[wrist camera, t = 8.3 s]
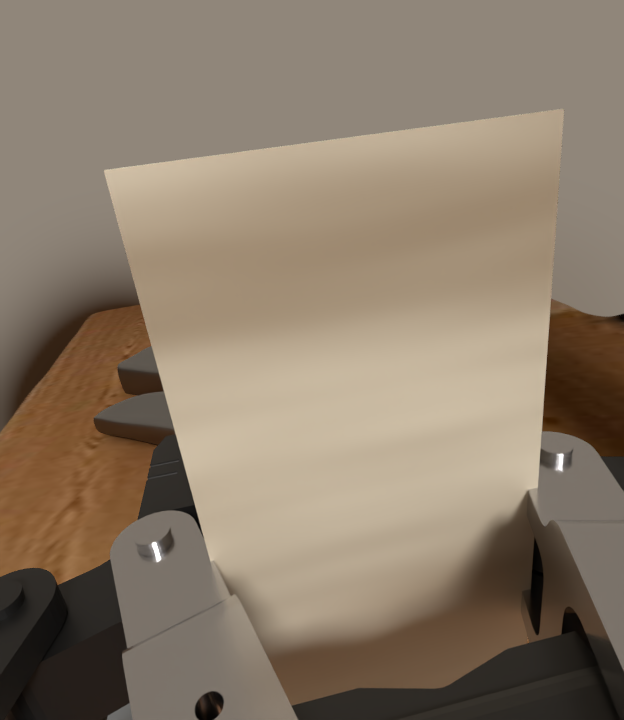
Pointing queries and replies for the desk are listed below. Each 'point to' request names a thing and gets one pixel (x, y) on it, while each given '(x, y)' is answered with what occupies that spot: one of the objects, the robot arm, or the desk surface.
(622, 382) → the desk surface
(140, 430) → the emblem
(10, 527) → the desk surface
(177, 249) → the birch post
